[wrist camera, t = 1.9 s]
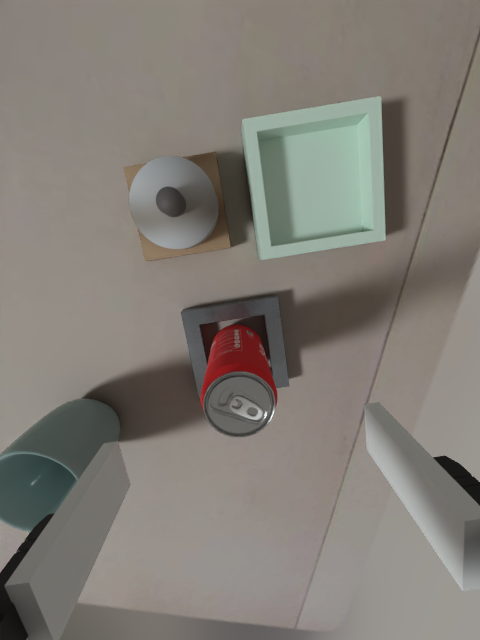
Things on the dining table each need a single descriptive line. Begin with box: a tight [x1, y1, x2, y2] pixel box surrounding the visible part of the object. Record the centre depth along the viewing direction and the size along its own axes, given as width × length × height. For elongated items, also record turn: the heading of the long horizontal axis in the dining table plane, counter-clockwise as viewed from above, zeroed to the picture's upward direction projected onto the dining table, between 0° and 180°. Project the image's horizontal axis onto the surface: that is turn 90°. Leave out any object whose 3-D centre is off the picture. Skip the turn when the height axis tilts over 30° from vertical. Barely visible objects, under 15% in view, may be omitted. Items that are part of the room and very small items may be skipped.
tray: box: [241, 96, 386, 260], centre depth 25 cm, size 11×11×3 cm
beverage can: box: [201, 325, 277, 437], centre depth 24 cm, size 5×5×12 cm
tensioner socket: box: [181, 295, 289, 400], centre depth 29 cm, size 10×10×2 cm
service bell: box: [124, 152, 231, 261], centre depth 24 cm, size 8×8×6 cm
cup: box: [0, 399, 120, 532], centre depth 27 cm, size 8×8×10 cm
